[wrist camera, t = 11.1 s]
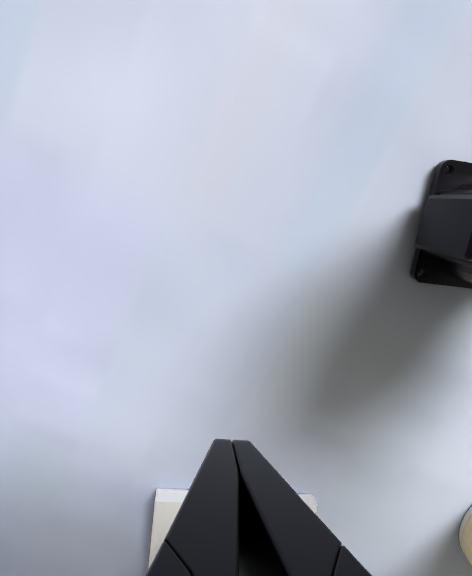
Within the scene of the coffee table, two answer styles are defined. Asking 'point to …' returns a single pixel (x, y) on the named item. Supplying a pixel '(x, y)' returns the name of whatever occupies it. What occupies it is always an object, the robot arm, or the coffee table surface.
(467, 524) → the coffee cup
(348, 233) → the coffee table surface
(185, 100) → the coffee table surface
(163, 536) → the baseplate
